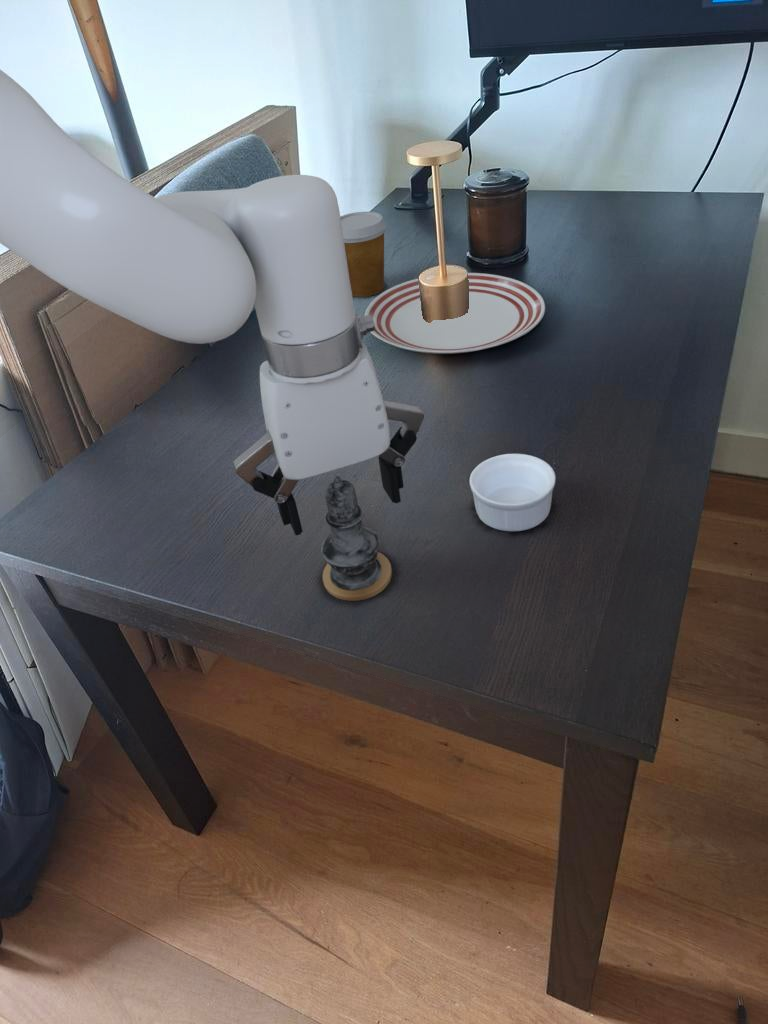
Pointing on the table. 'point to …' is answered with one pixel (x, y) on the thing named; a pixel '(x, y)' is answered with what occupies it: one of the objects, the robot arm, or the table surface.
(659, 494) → the table surface
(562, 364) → the table surface
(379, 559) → the coaster
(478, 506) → the ramekin
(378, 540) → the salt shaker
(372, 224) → the disposable coffee cup
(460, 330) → the dinner plate
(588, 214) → the table surface
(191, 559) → the table surface
